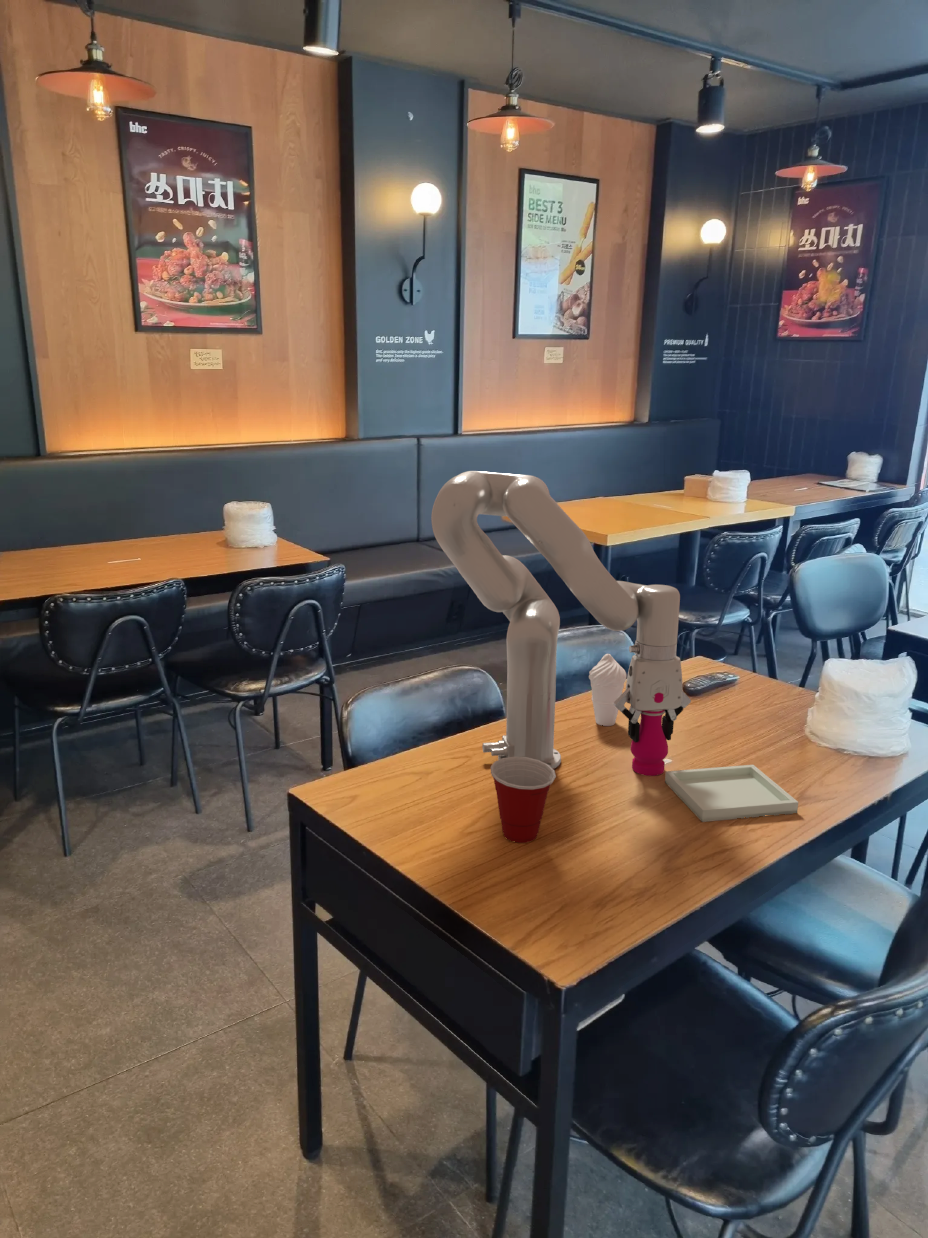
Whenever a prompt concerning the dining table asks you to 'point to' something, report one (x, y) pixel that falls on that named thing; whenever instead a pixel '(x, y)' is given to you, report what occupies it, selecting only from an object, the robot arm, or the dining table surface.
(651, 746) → the pepper mill
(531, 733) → the robot arm
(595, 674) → the soft serve ice cream cone
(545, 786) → the plastic cup
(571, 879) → the dining table surface
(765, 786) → the tray
